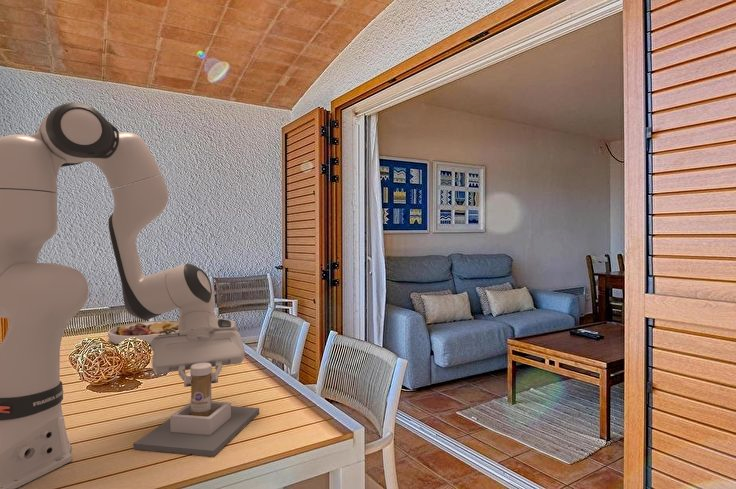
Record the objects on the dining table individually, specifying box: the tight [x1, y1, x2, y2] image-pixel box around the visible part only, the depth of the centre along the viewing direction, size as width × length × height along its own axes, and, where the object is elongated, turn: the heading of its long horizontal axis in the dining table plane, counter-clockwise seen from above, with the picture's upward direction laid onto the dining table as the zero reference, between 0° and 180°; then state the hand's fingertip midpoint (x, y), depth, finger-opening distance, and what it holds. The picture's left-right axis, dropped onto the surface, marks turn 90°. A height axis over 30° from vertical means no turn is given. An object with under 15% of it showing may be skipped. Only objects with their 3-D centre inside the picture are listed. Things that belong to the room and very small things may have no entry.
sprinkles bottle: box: [189, 362, 213, 417], centre depth 103 cm, size 5×5×13 cm
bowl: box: [107, 320, 179, 346], centre depth 190 cm, size 30×30×8 cm
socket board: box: [132, 400, 260, 458], centre depth 103 cm, size 22×18×5 cm
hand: (201, 383), depth 103 cm, fingers closed on sprinkles bottle, 4 cm apart
